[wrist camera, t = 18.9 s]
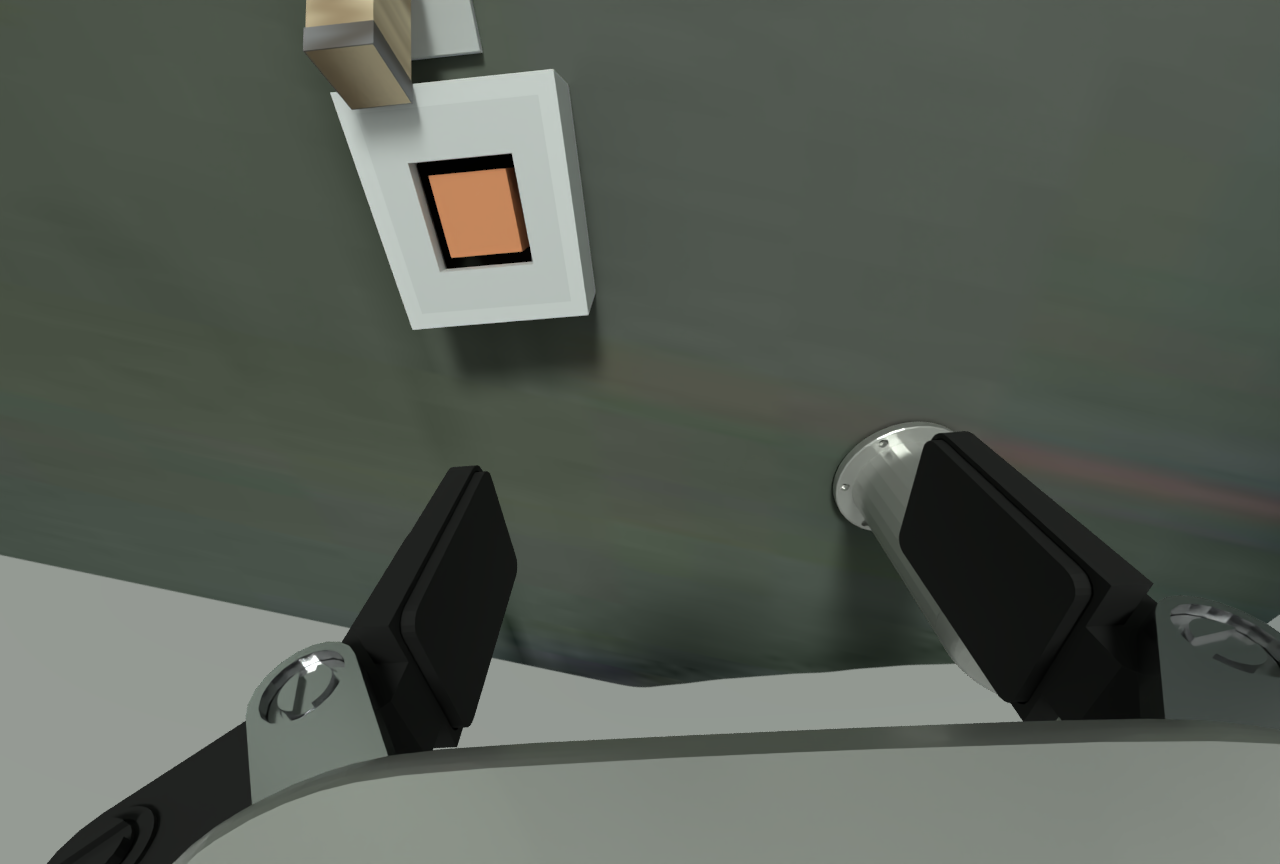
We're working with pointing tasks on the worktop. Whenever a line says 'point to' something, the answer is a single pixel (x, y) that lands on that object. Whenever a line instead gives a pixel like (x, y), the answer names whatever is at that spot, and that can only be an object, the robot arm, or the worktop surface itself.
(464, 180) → the orange cube block
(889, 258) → the worktop surface
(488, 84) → the box
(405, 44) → the tan wooden block
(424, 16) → the pad
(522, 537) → the worktop surface
